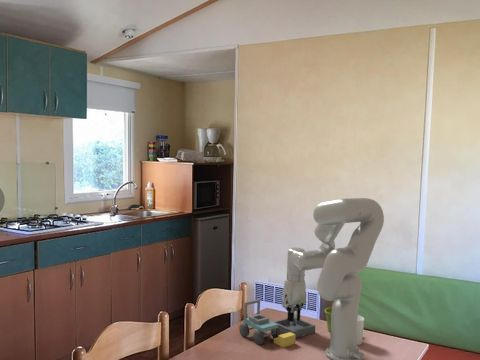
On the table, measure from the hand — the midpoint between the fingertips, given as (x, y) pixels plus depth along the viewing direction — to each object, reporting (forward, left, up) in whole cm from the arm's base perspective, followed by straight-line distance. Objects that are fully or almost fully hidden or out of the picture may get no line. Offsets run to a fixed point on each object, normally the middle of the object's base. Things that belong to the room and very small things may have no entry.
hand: (293, 319), depth 191 cm
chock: (-8, +12, -5) cm, 15 cm away
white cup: (-22, -12, -5) cm, 25 cm away
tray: (0, 0, -5) cm, 5 cm away
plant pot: (-10, -15, -5) cm, 19 cm away
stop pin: (0, 0, -2) cm, 2 cm away
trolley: (+2, +17, -5) cm, 18 cm away
